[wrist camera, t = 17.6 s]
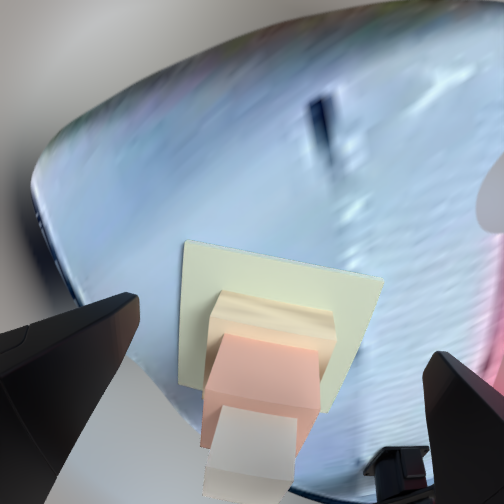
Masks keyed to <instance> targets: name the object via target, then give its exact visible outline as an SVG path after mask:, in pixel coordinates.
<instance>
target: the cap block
mask: <svg viewBox="0 0 504 504" xmlns="http://www.w3.org/2000/svg"><path fill="white" fill-rule="evenodd" d="M296 437H297V418H290V417H284V416H277V415H271V414H265V413H260V412H254V411H249V410H244V409H239V408H234V407H230V406H225V405H223V406H222V409H221V413H220V417H219V420H218V424H217V427H216V431H215V434H214V438H213V441H212V445H211V448H210V452H209V455H208V459H207V462H206V466H205V475H204V484H203V494H202V495H203V496H206V497H210V498H215V499H219V500H225V501H230V502H235V503H240V504H279V502H280V501H281V499H282V498H283V496H284V495H285V493H286V492H287V491H288V489H289V488H290V486H291V485H292V483H293V482H294V470H295V454H296Z"/></svg>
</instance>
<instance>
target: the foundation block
mask: <svg viewBox="0 0 504 504" xmlns="http://www.w3.org/2000/svg"><path fill="white" fill-rule="evenodd" d="M225 333H227V334H231V335H236V336H241V337H245V338H250V339H255V340H260V341H265V342H270V343H276V344H281V345H287V346H292V347H298V348H304V349H310V350H316V351H318V358H319V378H320V382H321V380H322V377H323V375H324V373H325V370H326V368H327V365H328V363H329V360H330V358H331V355H332V353H333V350H334V348H335V345H336V342H337V337H336V330H335V324H334V317H333V311H328V310H322V309H317V308H311V307H306V306H301V305H295V304H290V303H285V302H280V301H275V300H270V299H265V298H260V297H255V296H250V295H245V294H240V293H235V292H231V291H226V290H222V291H221V293H220V295H219V297H218V299H217V302H216V304H215V306H214V308H213V310H212V313H211V315H210V320H209V329H208V339H207V349H206V359H205V370H204V381H203V392H202V399H203V400H204V394H205V387H206V384H207V382H208V379H209V376H210V373H211V370H212V368H213V365H214V362H215V359H216V356H217V353H218V351H219V348H220V345H221V342H222V339H223V336H224V334H225Z"/></svg>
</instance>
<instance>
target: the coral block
mask: <svg viewBox="0 0 504 504" xmlns="http://www.w3.org/2000/svg"><path fill="white" fill-rule="evenodd" d="M223 405H225V406H230V407H234V408H239V409H244V410H249V411H254V412H260V413H265V414H271V415H277V416H284V417H290V418H297V437H296V454H295V458H296V457H297V455H298V453H299V451H300V449H301V447H302V445H303V444H304V442H305V440H306V438H307V436H308V434H309V432H310V430H311V428H312V426H313V424H314V422H315V420H316V418H317V416H318V414H319V412H320V410H321V404H320V378H319V358H318V351H316V350H310V349H304V348H298V347H292V346H287V345H281V344H276V343H270V342H265V341H260V340H255V339H250V338H245V337H241V336H236V335H231V334H227V333H225V334H224V336H223V339H222V342H221V345H220V348H219V351H218V353H217V356H216V359H215V362H214V365H213V368H212V370H211V373H210V376H209V379H208V382H207V384H206V387H205V394H204V406H203V417H202V429H201V442H200V447H203V448H207V449H210V448H211V445H212V441H213V438H214V434H215V431H216V427H217V424H218V420H219V417H220V413H221V409H222V406H223Z"/></svg>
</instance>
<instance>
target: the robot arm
mask: <svg viewBox="0 0 504 504" xmlns="http://www.w3.org/2000/svg"><path fill="white" fill-rule="evenodd" d="M139 322H140V306H139V297H138V296H137V295H136V294H132V293H128V292H124V293H121V294H118V295H115V296H112V297H109V298H106V299H103V300H100V301H97V302H94V303H91V304H88V305H85V306H82V307H79V308H76V309H73V310H70V311H67V312H65V313H62V314H59V315H55V316H53V317H50V318H47V319H44V320H41V321H38V322H35V323H32V324H30V325H29V326H28V325H26V326H23V327H20V328H17V329H14V330H11V331H8V332H5V333H1V334H0V504H44V502H45V500H46V498H47V496H48V494H49V492H50V490H51V488H52V486H53V485H54V483H55V480H56V479H57V476H58V475H59V473H60V471H61V469H62V467H63V465H64V463H65V461H66V460H67V458H68V456H69V454H70V452H71V450H72V448H73V447H74V445H75V443H76V441H77V439H78V437H79V436H80V434H81V432H82V430H83V429H84V427H85V425H86V423H87V421H88V420H89V418H90V416H91V414H92V413H93V411H94V409H95V408H96V406H97V404H98V402H99V401H100V399H101V397H102V395H103V394H104V392H105V390H106V389H107V387H108V385H109V384H110V382H111V380H112V379H113V377H114V375H115V374H116V372H117V370H118V368H119V367H120V364H121V363H122V360H123V358H124V356H125V354H126V352H127V350H128V347H129V345H130V343H131V341H132V339H133V337H134V334H135V332H136V330H137V328H138V326H139ZM422 379H423V389H424V400H425V413H426V422H427V429H428V435H429V442H430V449H431V457H432V465H433V474H434V484H432V485H431V486H427V481H426V471H425V467H424V462H423V457H424V456H425V455H426V453H427V452H428V451H429V450H430V449H429V446H416V447H385V448H383V449H382V450H381V452H380V453H379V454H378V455H377V457H376V458H375V459H374V460H373V461H372V462H371V464H370V465H369V466H368V467H367V468H366V469H365V470H364V472H363V475H364V476H374V477H375V486H376V496H377V503H373V504H504V396H503V395H501V394H500V393H499V392H498V391H496V390H495V389H494V388H493V387H492V386H490V385H489V384H488V383H487V382H485V381H484V380H483V379H481V378H480V377H479V376H478V375H476V374H475V373H474V372H473V371H471V370H470V369H469V368H468V367H466V366H465V365H464V364H462V363H461V362H460V361H459V360H457V359H456V358H455V357H453V356H452V355H451V354H450V353H448V352H445V351H436V352H435V353H434V354H433V355H432V357H431V359H430V361H429V362H428V364H427V366H426V368H425V369H424V372H423V377H422Z"/></svg>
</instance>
